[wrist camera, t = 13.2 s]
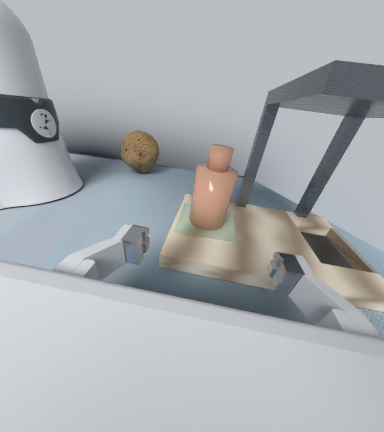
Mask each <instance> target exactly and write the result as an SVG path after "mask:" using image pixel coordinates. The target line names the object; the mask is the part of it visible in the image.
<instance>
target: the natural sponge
mask: <svg viewBox="0 0 384 432" xmlns="http://www.w3.org/2000/svg"><path fill="white" fill-rule="evenodd" d="M158 155H159V147H158V144H157V142H156V140H155V139H154V138H153V137H152V136H151V135H150V134H148V133H146V132H143V131H134V132H131V133H130V134H128V135H127V136H126V137H125V138H124V139H123V141H122V144H121V157H122V159H123V161H124V162H125V163H126V164H127V165H129V166H131V167H133V168H135V169H136V170H137V171H138V172H141V173H145V172H148V171H149V170H150V169H151V168H152V167H153V166H154V164H155V163H156V161H157V159H158Z"/></svg>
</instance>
